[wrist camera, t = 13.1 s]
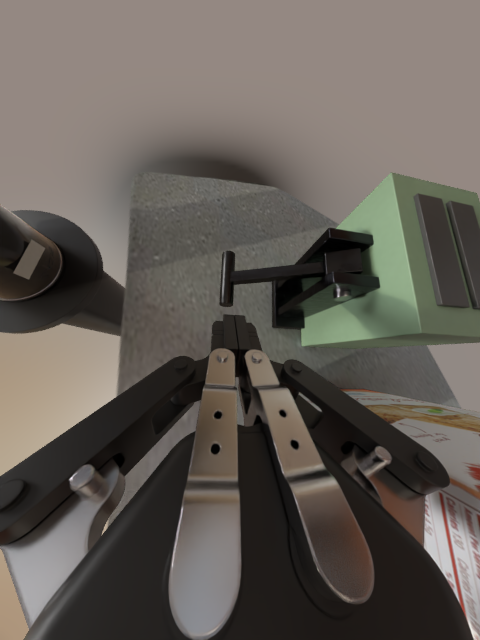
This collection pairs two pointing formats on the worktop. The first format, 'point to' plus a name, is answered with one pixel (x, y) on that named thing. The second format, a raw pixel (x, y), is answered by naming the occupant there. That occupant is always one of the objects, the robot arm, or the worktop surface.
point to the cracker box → (452, 501)
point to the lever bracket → (321, 282)
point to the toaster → (410, 270)
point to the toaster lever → (286, 271)
